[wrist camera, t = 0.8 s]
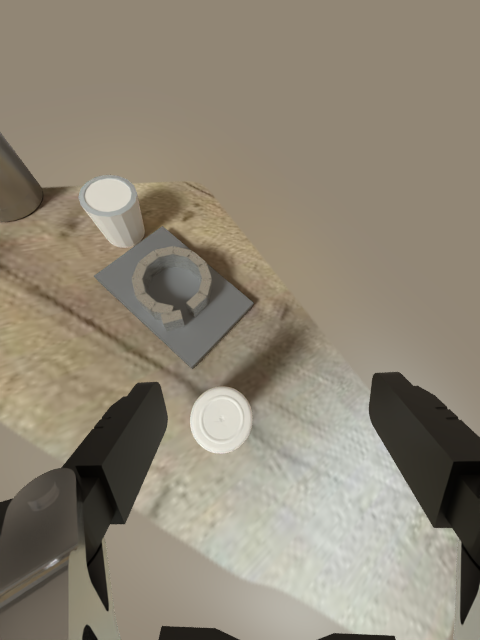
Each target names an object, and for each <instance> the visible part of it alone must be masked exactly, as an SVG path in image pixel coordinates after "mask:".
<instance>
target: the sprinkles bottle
mask: <svg viewBox="0 0 480 640" xmlns="http://www.w3.org/2000/svg"><path fill="white" fill-rule="evenodd" d="M252 423H253V415H252V410H251V407H250V404H249V402H248V400H247V399H246V398H245V396H244V395H243V394H242V393H240V392H239V391H238V390H236V389H234V388H231V387H226V386H218V387H214V388H211V389H209V390H207V391H205V392H204V393H203V394H202V395H201V396H200V397H199V398H198V399H197V400H196V402H195V404H194V406H193V408H192V411H191V416H190V426H191V431H192V434H193V436H194V438H195V440H196V441H197V442H198V444H199V445H200V446H202V447H203V448H204V449H206V450H208V451H210V452H213V453H218V454H222V453H228V452H231V451H234V450H235V449H237V448H238V447H240V446H241V445H242V444H243V443H244V442H245V441H246V439H247V438H248V436H249V434H250V431H251V428H252Z"/></svg>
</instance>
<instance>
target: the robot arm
mask: <svg viewBox="0 0 480 640" xmlns="http://www.w3.org/2000/svg"><path fill="white" fill-rule="evenodd" d="M42 197H43V192H42V188H41V186H40V185H39V183H38V182H37V181H36V179H35V178H34V177H33V176H32V174H31V173H30V171H29V170H28V169H27V167H26V166H25V165H24V163H23V162H22V160H21V159H20V158H19V156H18V155H17V154H16V153H15V151H14V150H13V148H12V147H11V146H10V145H9V143H8V142H7V141H6V139H5V138H4V136H3V135H2V134H1V133H0V222H8V221H14V220H17V219H21V218H23V217H25V216H27V215H29V214H30V213H32V212H33V211H34V210H35V209H36V208H37V207H38V206H39V204H40V203H41V200H42ZM369 415H370V419H371V422H372V425H373V427H374V428H375V430H376V432H377V433H378V435H379V437H380V438H381V440H382V442H383V443H384V445H385V447H386V448H387V450H388V452H389V453H390V455H391V457H392V458H393V460H394V462H395V463H396V465H397V467H398V469H399V470H400V472H401V474H402V475H403V477H404V479H405V480H406V482H407V484H408V485H409V487H410V489H411V490H412V492H413V494H414V495H415V497H416V499H417V500H418V502H419V504H420V505H421V507H422V509H423V510H424V512H425V514H426V515H427V517H428V519H429V520H430V522H431V524H432V526H433V527H434V528H453V530H454V531H455V533H456V534H457V536H458V537H459V541H458V545H457V564H456V595H455V625H454V638H453V640H480V437H479V436H477V435H476V434H475V433H474V432H473V431H472V430H471V429H470V428H469V427H468V426H467V425H466V424H465V423H464V422H463V421H462V420H459V419H458V417H457V416H456V415H455V414H454V413H453V412H452V411H451V410H450V409H449V410H448V409H447V406H445V405H444V404H443V403H442V402H441V401H440V400H439V399H438V398H437V397H436V396H435V395H433V394H431V393H430V392H428V391H426V390H424V389H422V388H421V387H419V386H413V385H412V384H411V383H410V382H409V381H408V380H407V379H406V378H405V377H404V376H403V375H402V374H401V373H399V372H388V373H375V374H374V375H373V378H372V386H371V394H370V402H369ZM167 421H168V416H167V411H166V406H165V402H164V398H163V394H162V390H161V386H160V384H159V383H158V382H146V383H137V384H136V385H135V386H134V388H133V389H132V390H131V392H130V393H129V394H128V396H127V397H122V398H121V399H120V400H118V401H117V402H116V403H114V404H113V405H112V406H111V407H110V408H109V409H108V410H107V412H106V413H105V414H104V415H103V417H102V420H99V422H98V423H97V424H96V425H95V427H94V429H92V430H91V432H90V433H89V434H88V435H87V437H86V438H85V439H84V440H83V442H82V443H81V444H80V445H79V447H78V448H77V449H76V450H75V452H74V453H73V454H72V455H71V457H70V458H69V459H68V460H67V462H66V463H65V464H64V465H63V467H62V468H58V469H54V470H51V471H49V472H46V473H44V474H42V475H40V476H39V477H37V478H35V479H34V480H32V481H31V482H29V483H28V484H27V485H26V486H25V487H23V488H22V489H21V490H20V491H19V492H18V493H17V495H16V496H15V497H14V498H13V499H10V500H7V501H3V502H0V640H121V638H120V634H119V631H118V628H117V623H116V618H115V612H114V605H113V596H112V588H111V581H110V573H109V565H108V557H107V550H106V542H105V539H104V535H105V533H106V531H107V529H108V527H109V525H110V524H125V523H126V520H127V518H128V516H129V514H130V511H131V509H132V507H133V504H134V502H135V500H136V498H137V495H138V493H139V491H140V488H141V486H142V484H143V481H144V479H145V477H146V475H147V472H148V470H149V468H150V465H151V463H152V461H153V459H154V456H155V454H156V452H157V449H158V447H159V445H160V442H161V440H162V438H163V436H164V433H165V431H166V428H167ZM159 640H239V639H236V638H235V637H233V636H230V635H228V634H226V633H224V632H222V631H220V630H218V629H216V628H194V627H170V626H162V627H161V631H160V636H159ZM318 640H396V639H395V636H387V635H363V634H339V633H333V634H331V635H328V636H326V637H323V638H321V639H318Z"/></svg>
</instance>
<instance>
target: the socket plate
mask: <svg viewBox="0 0 480 640" xmlns="http://www.w3.org/2000/svg"><path fill="white" fill-rule="evenodd" d="M171 246H173V248H174V246H175V247H180V248H184V249H188V250H190V249H189V248H188V247H187V246H185V245H184V244H183V243H182V242H181V241H179V240H178V239H177V238H176V237H175V236H173V235H172V234H171V233H170V232H169V231H168V230H166V229H165V228H164V227H163V226H162V227H160V228H159V229H158V230H156V231H155V232H154V233H152V234H151V235H149V236H148V237H147V238H145V239H144V240H143V241H141V242H140V243H138V244H137V245H136V246H134V247H133V248H132V249H130V250H129V251H127V252H126V253H125V254H123V255H122V256H121V257H119V258H118V259H117V260H115V261H114V262H112V263H111V264H110V265H108V266H107V267H106V268H104V269H103V270H101V271H100V272H99V273H97V274H96V275H95V276H94V277H95V278H96V279H97V280H98V282H100V283H101V284H102V285H103V286H104V287H105V288H106V289H107V290H108V291H109V292H110V293H111V294H112V295H113V296H115V297H116V298H117V299H118V300H119V301H120V302H121V303H122V304H123V305H124V306H125V307H126V308H127V309H128V310H129V311H131V312H132V313H133V314H134V315H135V316H136V317H137V318H138V319H139V320H140V321H141V322H142V323H143V324H144V325H146V326H147V327H148V328H149V329H150V330H151V331H152V332H153V333H154V334H155V335H156V336H157V337H158V338H159V339H161V340H162V341H163V342H164V343H165V344H166V345H167V346H168V347H169V348H170V349H171V350H172V351H173V352H174V353H176V354H177V355H178V356H179V357H180V358H181V359H182V360H183V361H184V362H185V363H186V364H187V365H188V366H189V367H190V368H192V369H193V368H194V367H195V366H196V365H197V364H198V363H199V362H200V361H201V360H202V359H203V358H204V357H205V356H206V355H207V354H208V353H209V352H210V351H211V349H212V348H213V347H214V346H215V345H216V344H217V343H218V342H219V341H220V340H221V339H222V338H223V337H224V336H225V335H226V334H227V333H228V332H229V331H230V330H231V329H232V328H233V326H234V325H235V324H236V323H237V322H238V321H239V320H240V319H241V318H242V317H243V316H244V315H245V314H246V313H247V312H248V311H249V310H250V309H251V308H252V306H253V302H252V301H251V300H250V299H248V298H247V297H246V296H245V295H244V294H242V293H241V292H240V291H239V290H238V289H236V288H235V287H234V286H233V285H232V284H231V283H229V282H228V281H227V280H226V279H225V278H223V277H222V276H221V275H220V274H219V273H217V272H216V271H215V270H214V269H213V268H212V267H210V266H209V265H208V264H207V266H208V269H209V272H210V275H211V277H212V288H211V294H210V298H209V301H208V305H207V307H206V308H204V309H203V310H202V311H201V312H200V313H199V314H198V315H197V316H196V317H195V318H194V317H193V316H192V315H191V314H190V313H189V312H188V310H187V305H186V302H188V301H189V300H190V299H191V298H192V297H193V296H194V295H195V294H196V293H197V292H198V291H199V288H200V284H201V283H200V280H199V278H198V277H197V276H196V275H195V274H194V273H192V272H191V271H190V270H188V269H184V268H179V267H172V268H168V269H163V270H162V271H160V272H159V273H158V274H157V275H155V276H154V277H153V278H152V280H151V283H150V285H149V288H148V293H149V296H150V297H151V298H152V299H154V300H155V301H156V302H158V303H163V304H167V305H172V306H174V309H175V311H176V310H180V311H181V315H182V318H183V322H184V325H185V327H182V328H178V329H174V330H171V331H166V329H165V327H164V325H163V322H162V321H161V320H156V318H154V317H152V316H151V315H150V314H149V313H148V312H147V311H146V310H145V309H144V308H143V307H142V306H141V304H140V303H139V301H138V299H137V298H136V296H135V292H134V288H133V283H132V276H133V274H134V271H135V269H136V266H137V264H138V262H139V261H140V260H141V259H143V258H144V257H145V256H147V255H148V254H149V253H151V252H152V251H154V252H155V250H156V249H161V248H166V247H171ZM139 263H140V262H139Z"/></svg>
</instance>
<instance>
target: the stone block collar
mask: <svg viewBox="0 0 480 640" xmlns="http://www.w3.org/2000/svg"><path fill="white" fill-rule="evenodd" d="M139 262H140V263H139ZM139 262H138V264H137V266H136V269H135V271H134V274H133V276H132V283H133V288H134V292H135V296H136V298H137V299H138V301H139V303H140V304H141V306H142V307H143V308H144V309H145V310H146V311H147V312H148V313H149V314H150V315H151V316H152V317H154V318H156V320H161V321H162V322H163V325H164V327H165V329H166V331H171V330H174V329H178V328H182V327H185V325H184V322H183V318H182V315H181V311H180V310H176V311H175V309H174V306H172V305H167V304H163V303H158V302H156V301H155V300H154V299H152V298H151V297H150V296H149V293H148V288H149V285H150V283H151V280H152V278H153V277H154V276H155V275H157V274H158V273H159V272H160V271H162V270H163V269H168V268H172V267H179V268H184V269H188V270H190V271H191V272H192V273H194V274H195V275H196V276H197V277H198V278H199V280H200V283H201V284H200V288H199V291H198V292H197V293H196V294H195V295H194V296H193V297H192V298H191V299H190V300H189V301H188V302H186V305H187V310H188V312H189V313H190V314H191V315H192V316H193V317H194V318H195V317H196V316H197V315H198V314H199V313H200V312H201V311H202V310H203V309H204V308H206V307H207V305H208V301H209V298H210V294H211V288H212V277H211V275H210V272H209V269H208V266H207V263H206V262H205V261H204V260H203V259H202V258H201V257H199V256H198V255H197V254H196V253H195V252H194V251H192V250H188V249H184V248H180V247H175V246H174V248H173V246H171V247H166V248H161V249H156V250H155V252H154V251H152V252H151V253H149V254H148V255H147V256H145V257H144V258H143V259H141V260H140V261H139Z"/></svg>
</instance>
